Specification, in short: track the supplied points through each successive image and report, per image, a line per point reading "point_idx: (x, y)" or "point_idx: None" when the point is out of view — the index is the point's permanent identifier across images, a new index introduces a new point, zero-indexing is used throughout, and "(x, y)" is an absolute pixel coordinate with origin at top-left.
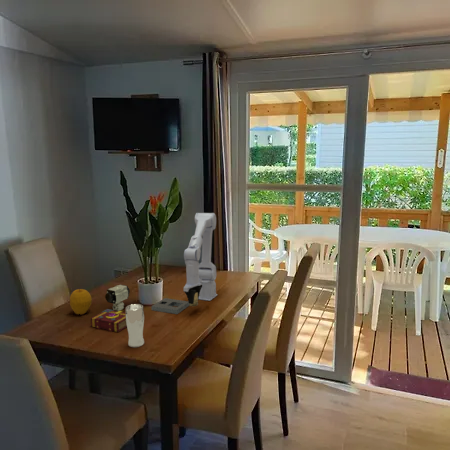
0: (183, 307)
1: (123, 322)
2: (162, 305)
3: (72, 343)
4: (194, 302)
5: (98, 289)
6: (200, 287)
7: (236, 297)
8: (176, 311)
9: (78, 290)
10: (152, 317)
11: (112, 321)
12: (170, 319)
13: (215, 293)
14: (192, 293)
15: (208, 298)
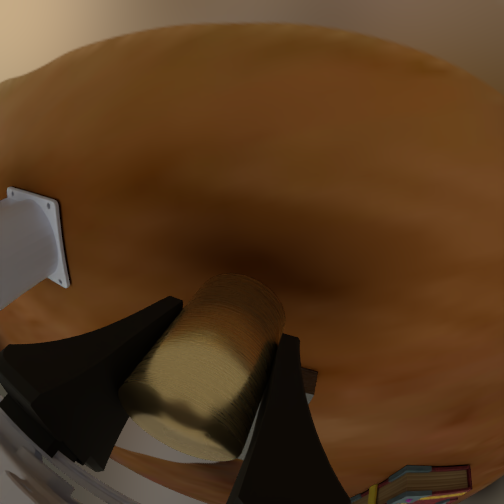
0: None
1: (448, 485)
2: (247, 443)
3: (483, 484)
4: (269, 329)
5: (166, 486)
6: (45, 390)
7: (11, 82)
8: (313, 389)
9: None
10: (360, 444)
11: (454, 499)
12: (401, 387)
13: (6, 199)
14: (330, 484)
15: (46, 218)
